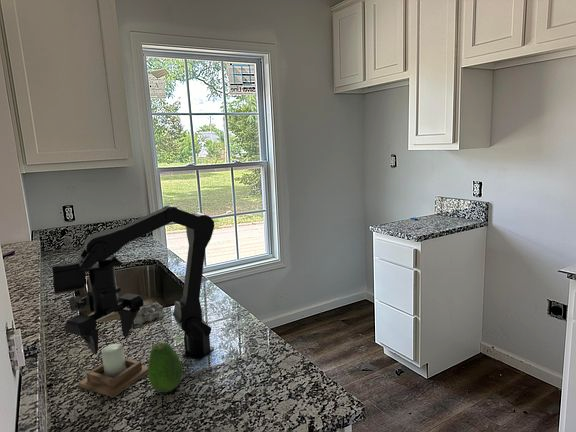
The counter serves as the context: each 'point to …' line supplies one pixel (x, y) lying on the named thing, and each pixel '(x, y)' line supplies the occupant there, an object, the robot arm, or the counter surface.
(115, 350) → the white rounded cylinder
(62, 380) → the counter surface
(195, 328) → the robot arm
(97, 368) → the holder
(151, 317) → the egg carton
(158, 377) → the avocado
